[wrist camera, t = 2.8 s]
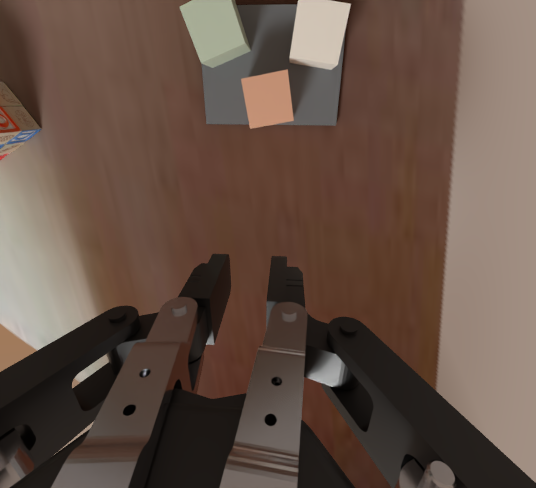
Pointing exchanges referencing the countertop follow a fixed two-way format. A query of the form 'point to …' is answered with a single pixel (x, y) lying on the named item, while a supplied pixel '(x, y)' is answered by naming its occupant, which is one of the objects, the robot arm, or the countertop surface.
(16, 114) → the stack of blocks
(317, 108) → the mat
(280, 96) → the terracotta cube
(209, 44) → the sage cube
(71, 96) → the countertop surface
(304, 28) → the cream cube
